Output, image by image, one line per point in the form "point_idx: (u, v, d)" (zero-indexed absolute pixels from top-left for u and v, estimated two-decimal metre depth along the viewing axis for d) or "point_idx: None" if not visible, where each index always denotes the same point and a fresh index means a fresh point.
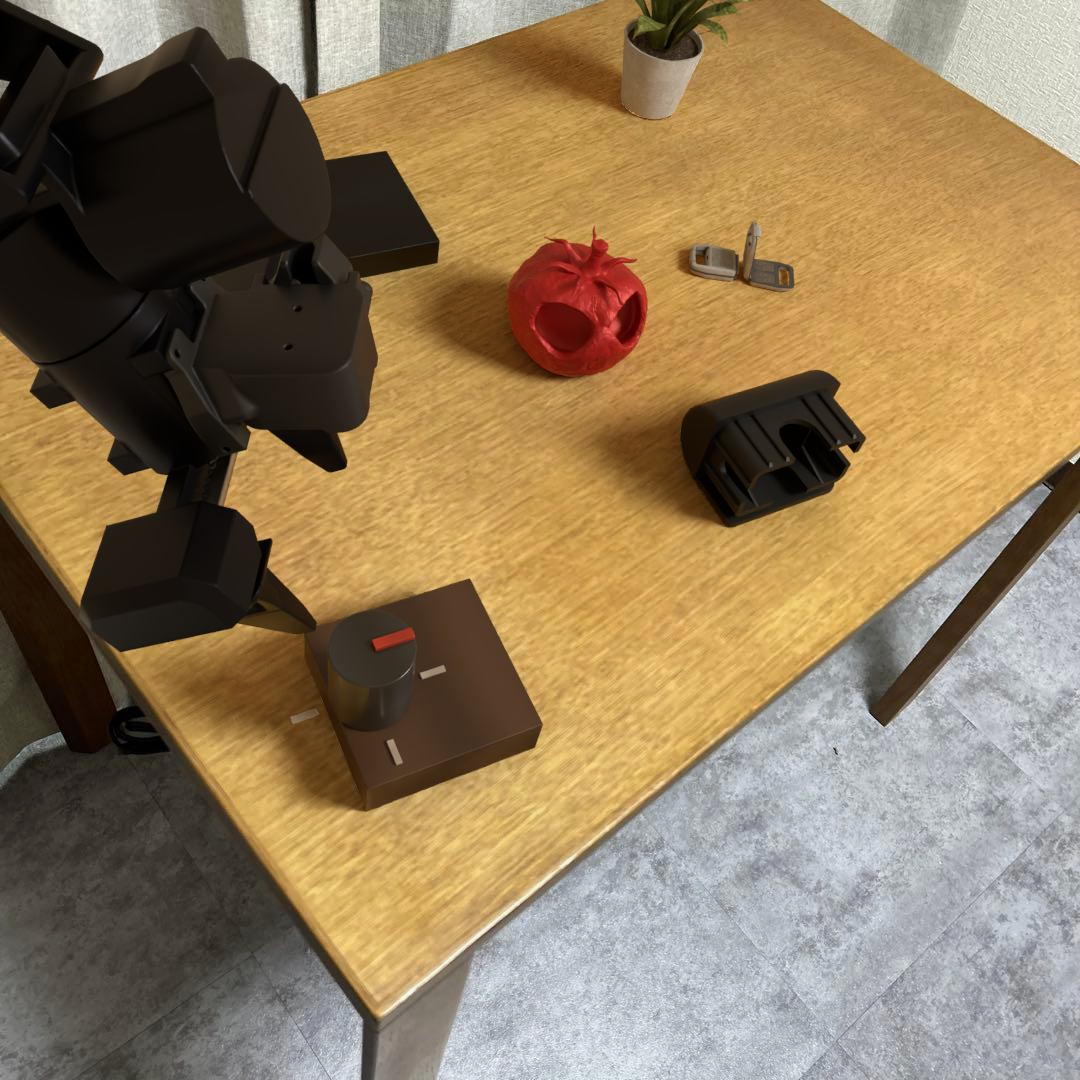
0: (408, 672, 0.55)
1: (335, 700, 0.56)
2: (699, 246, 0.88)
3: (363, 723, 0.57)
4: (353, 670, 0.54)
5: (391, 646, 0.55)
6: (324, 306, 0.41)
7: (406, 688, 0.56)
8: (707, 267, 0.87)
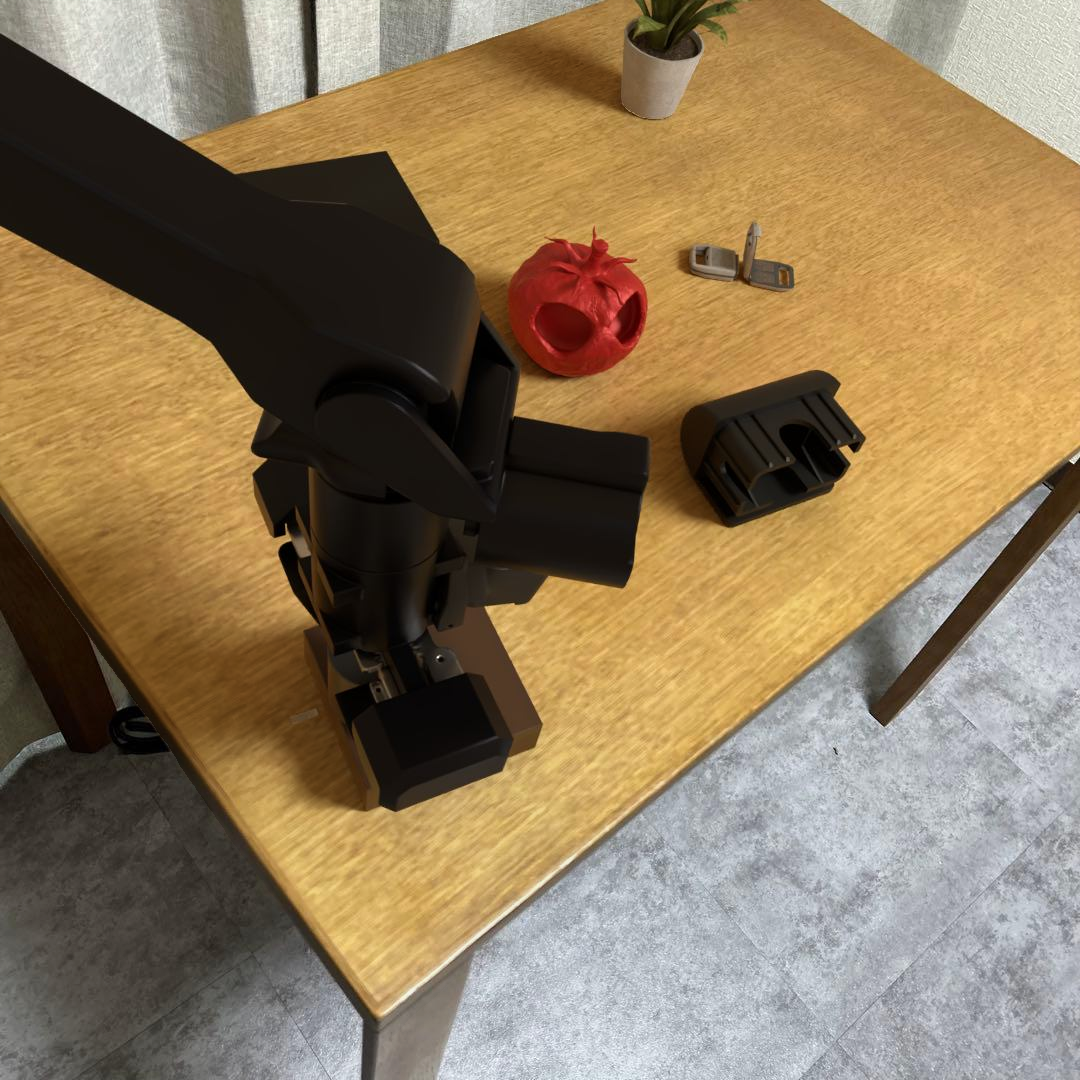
0: None
1: (335, 700, 0.56)
2: (699, 246, 0.88)
3: None
4: (353, 670, 0.54)
5: None
6: None
7: None
8: (707, 267, 0.87)
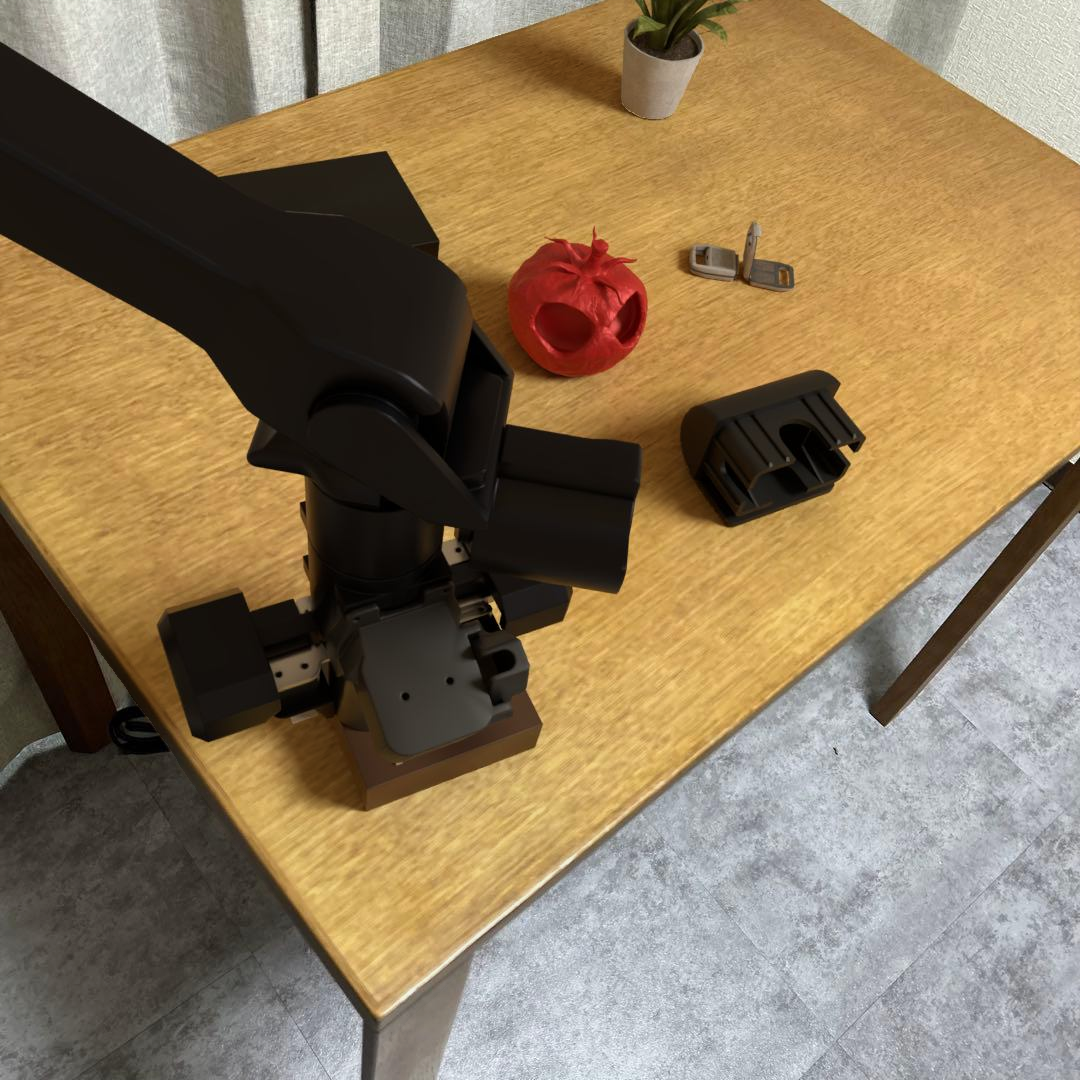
0: (345, 681, 0.54)
1: None
2: (699, 246, 0.88)
3: None
4: None
5: None
6: (460, 702, 0.47)
7: (344, 696, 0.55)
8: (707, 267, 0.87)
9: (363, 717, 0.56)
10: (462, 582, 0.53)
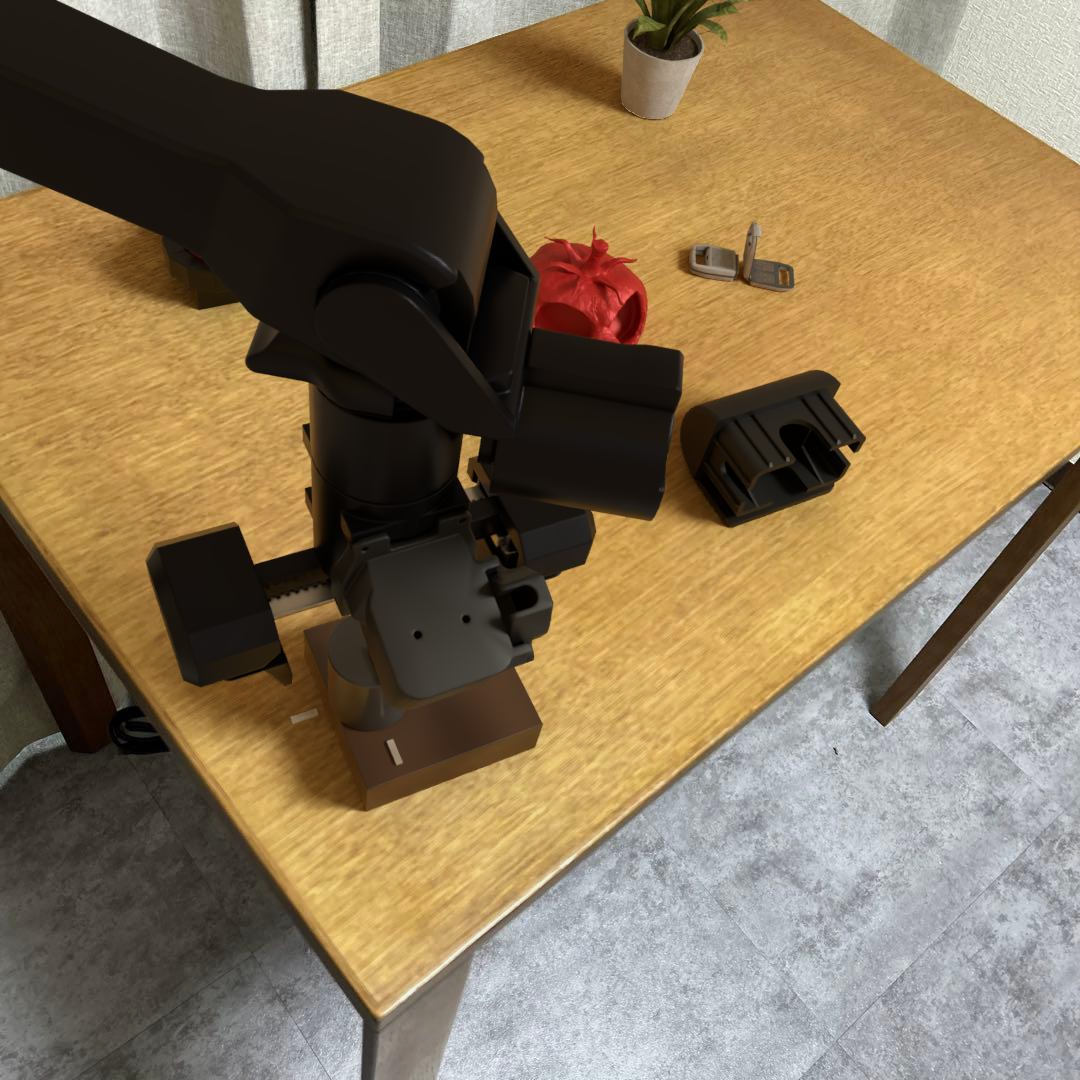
0: (345, 681, 0.54)
1: None
2: (699, 246, 0.88)
3: None
4: (346, 631, 0.55)
5: None
6: (477, 642, 0.43)
7: (344, 696, 0.55)
8: (707, 267, 0.87)
9: (363, 717, 0.56)
10: (477, 519, 0.49)
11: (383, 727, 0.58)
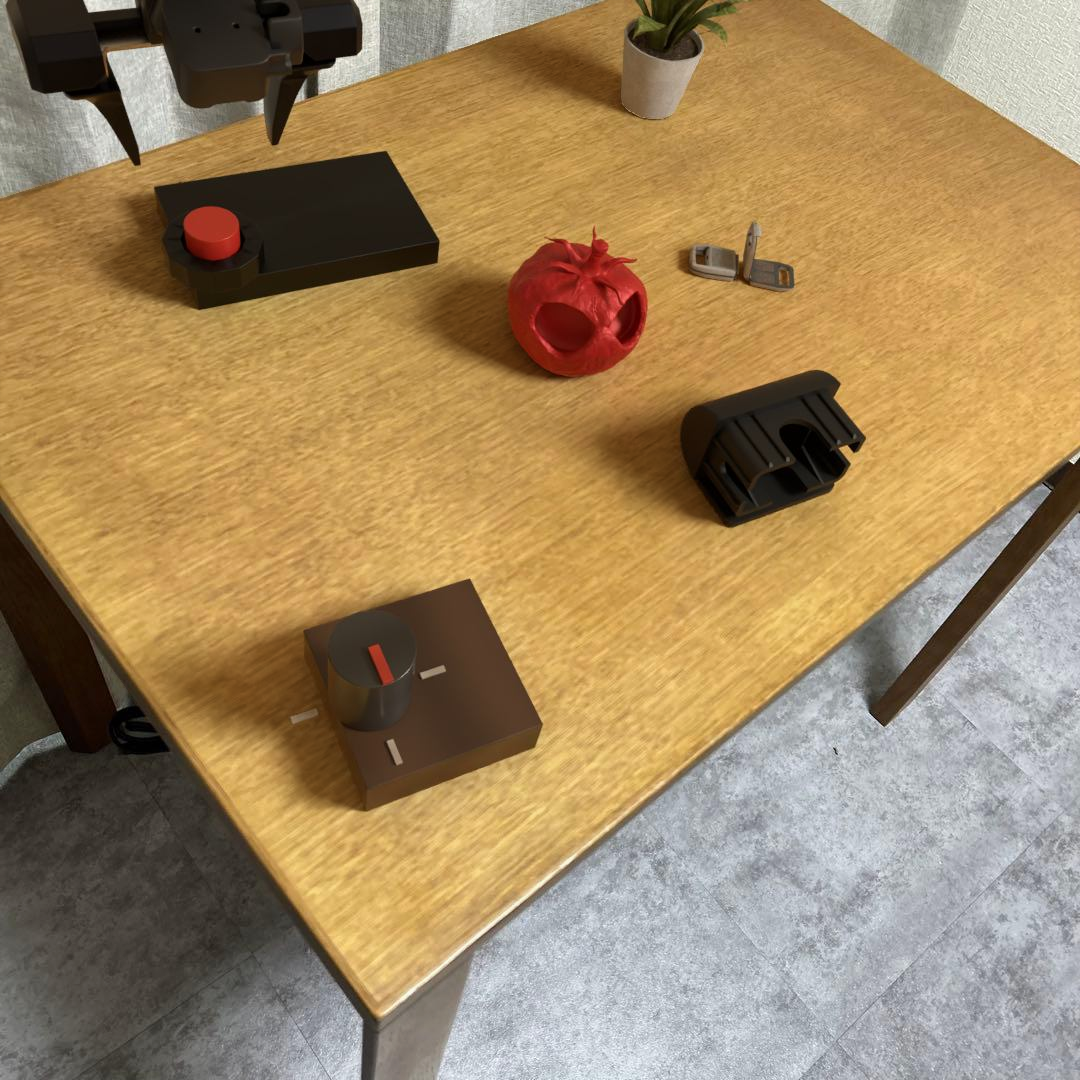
0: (345, 681, 0.54)
1: None
2: (699, 246, 0.88)
3: None
4: (346, 631, 0.55)
5: (374, 664, 0.54)
6: (243, 41, 0.57)
7: (344, 696, 0.55)
8: (707, 267, 0.87)
9: (363, 717, 0.56)
10: None
11: (383, 727, 0.58)
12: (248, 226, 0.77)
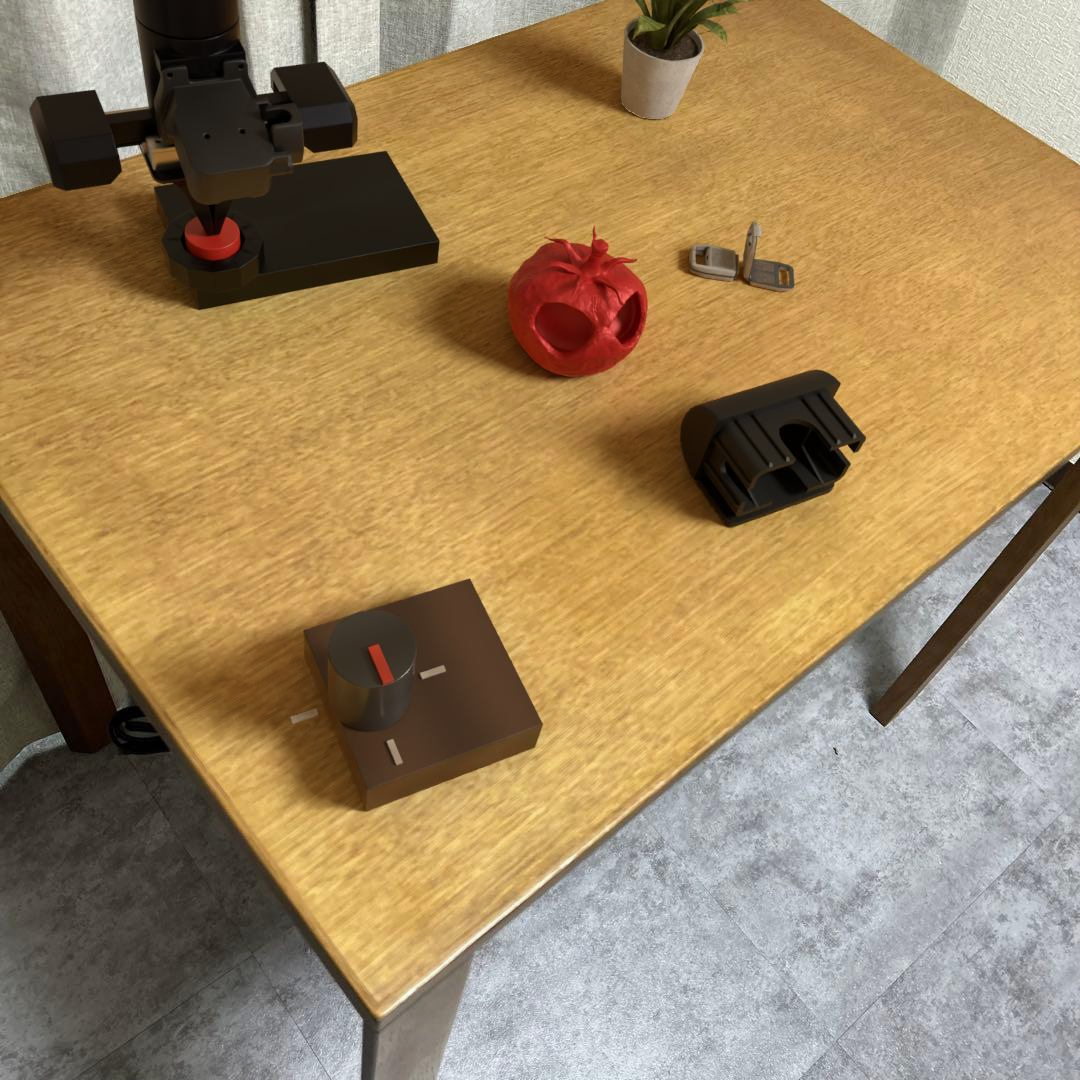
0: (345, 681, 0.54)
1: None
2: (699, 246, 0.88)
3: None
4: (346, 631, 0.55)
5: (374, 664, 0.54)
6: (249, 145, 0.63)
7: (344, 696, 0.55)
8: (707, 267, 0.87)
9: (363, 717, 0.56)
10: (269, 102, 0.69)
11: (383, 727, 0.58)
12: (248, 226, 0.77)
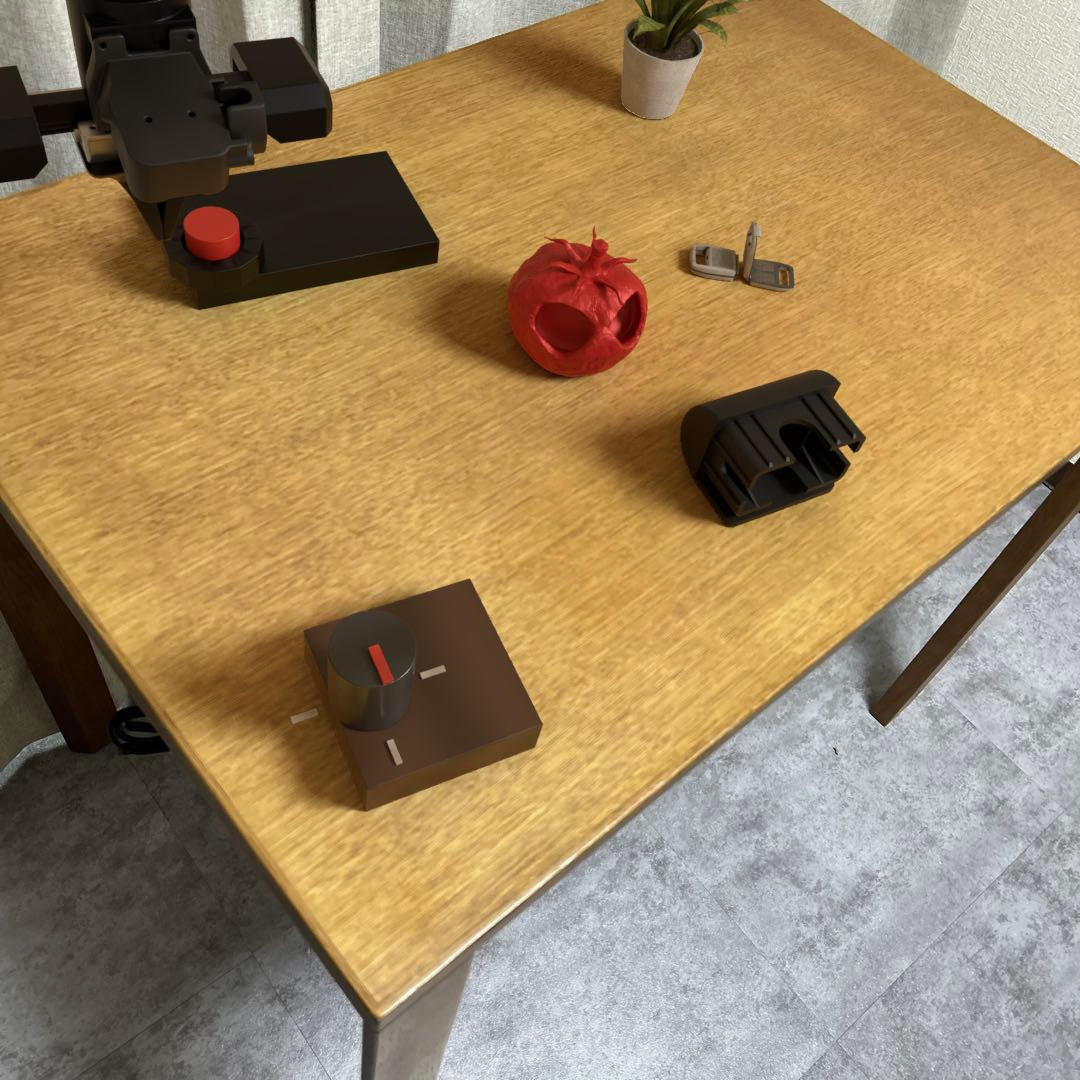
0: (345, 681, 0.54)
1: None
2: (699, 246, 0.88)
3: None
4: (346, 631, 0.55)
5: (374, 664, 0.54)
6: (200, 131, 0.52)
7: (344, 696, 0.55)
8: (707, 267, 0.87)
9: (363, 717, 0.56)
10: (227, 83, 0.58)
11: (383, 727, 0.58)
12: (248, 226, 0.77)
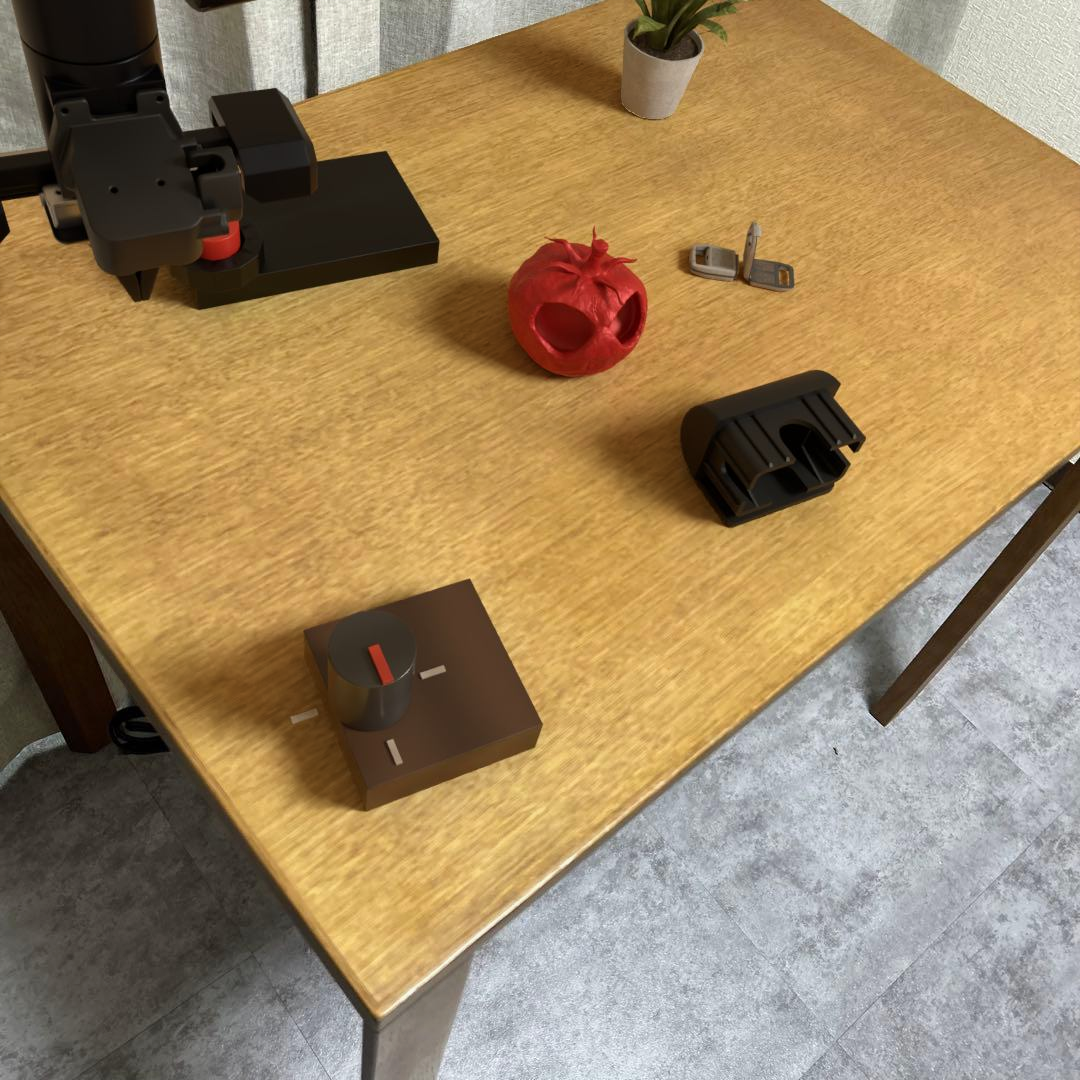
0: (345, 681, 0.54)
1: None
2: (699, 246, 0.88)
3: None
4: (346, 631, 0.55)
5: (374, 664, 0.54)
6: (170, 201, 0.48)
7: (344, 696, 0.55)
8: (707, 267, 0.87)
9: (363, 717, 0.56)
10: (204, 141, 0.54)
11: (383, 727, 0.58)
12: (248, 226, 0.77)
